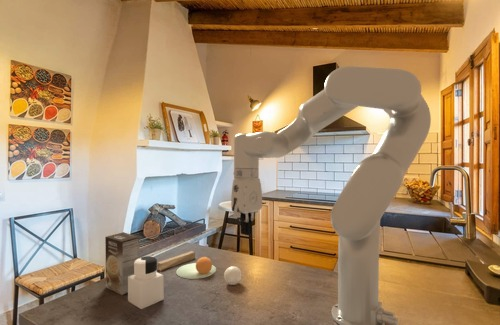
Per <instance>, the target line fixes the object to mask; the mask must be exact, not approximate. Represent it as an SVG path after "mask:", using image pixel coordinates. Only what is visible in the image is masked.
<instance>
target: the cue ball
mask: <svg viewBox="0 0 500 325" xmlns="http://www.w3.org/2000/svg"><path fill="white" fill-rule="evenodd" d="M242 276H243V275H242V271H241V269H240V268H239V267H238V266H234V265H232V266H229V267H227V268H226V270H225V271H224V272H223V277H224V281H225V283H227V285H230V286H235V285H238V284H239V283H240V282H241V280H242Z"/></svg>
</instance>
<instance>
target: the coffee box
mask: <svg viewBox="0 0 500 325" xmlns="http://www.w3.org/2000/svg"><path fill="white" fill-rule="evenodd" d="M139 258H140V236H139V235H138V236H137V235H133V234H130V233H127V232H125V231H124V232H118V233H115V234H112V235H108V236H105V288H106V289H108V290H111V291H113V292H115V293H117V294H119V295H121V296H123V295H125V294H128V277H129V276H131V275H134V262H135V261H136V260H137V259H139Z"/></svg>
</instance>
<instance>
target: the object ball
mask: <svg viewBox="0 0 500 325" xmlns="http://www.w3.org/2000/svg"><path fill="white" fill-rule="evenodd" d="M195 263H196V269H197V271H198V272H199V273H201V274H206V273H208V272H209V271H210V270H211V268H212V265H213V262H212V260H211V259H210V258H209V257H207V256H203V257H199V258H198V259H197V261H196V262H195Z"/></svg>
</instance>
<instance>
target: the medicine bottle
mask: <svg viewBox="0 0 500 325" xmlns="http://www.w3.org/2000/svg"><path fill="white" fill-rule="evenodd" d="M157 262H158V260H157V258H156V257H154V256H152V255H151V256H149V255H148V256H141V257H139V259H137V260H136V261H135V262H134V275H131V276H129V277H128V293H127V301H128V302H129V303H130V304H132V305H133V306H135V307H137V308H138V309H140V310H143V309H146V308H148V307H150V306H152V305H155V304H157V303H159V302H161V301H164V292H165V291H164V290H165V288H164V286H165V285H164V274H161V273H159V272H158V269H157Z"/></svg>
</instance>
